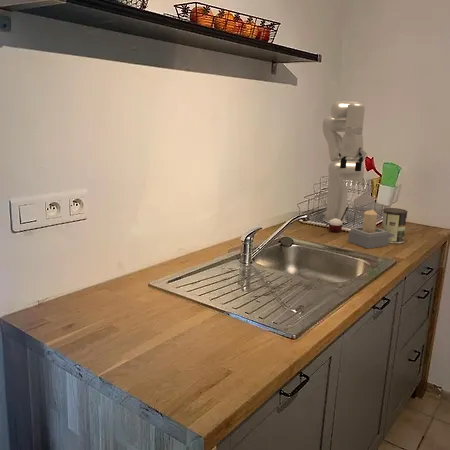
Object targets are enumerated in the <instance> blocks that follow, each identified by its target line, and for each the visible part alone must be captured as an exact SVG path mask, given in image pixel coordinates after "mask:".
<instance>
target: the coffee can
mask: <svg viewBox="0 0 450 450" xmlns="http://www.w3.org/2000/svg"><path fill="white" fill-rule="evenodd" d="M382 211H383V212H382V213H383V214H382V223H381V230H384V231H387V232H388V233H387V234H389V239H388V244H404V242H405V235H406V225H407V219H408V217H407V216H408V212H409V211H408V210H406V209H403V208H398V207H397V208H396V207H385V208H383V210H382Z"/></svg>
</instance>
